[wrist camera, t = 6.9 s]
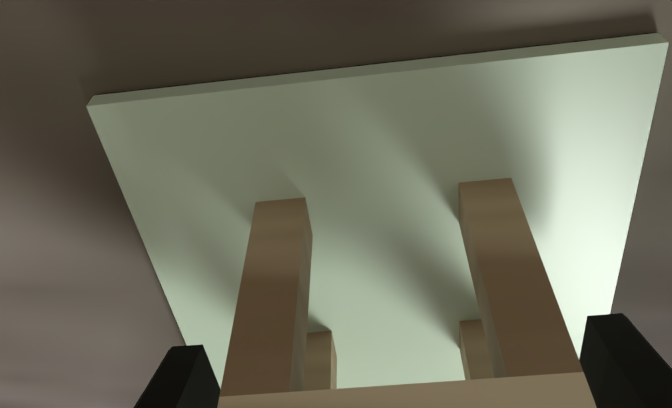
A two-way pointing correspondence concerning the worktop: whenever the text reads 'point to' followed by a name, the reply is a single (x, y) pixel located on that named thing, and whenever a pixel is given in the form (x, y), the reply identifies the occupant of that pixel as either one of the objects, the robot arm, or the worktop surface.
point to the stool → (474, 335)
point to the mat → (389, 188)
